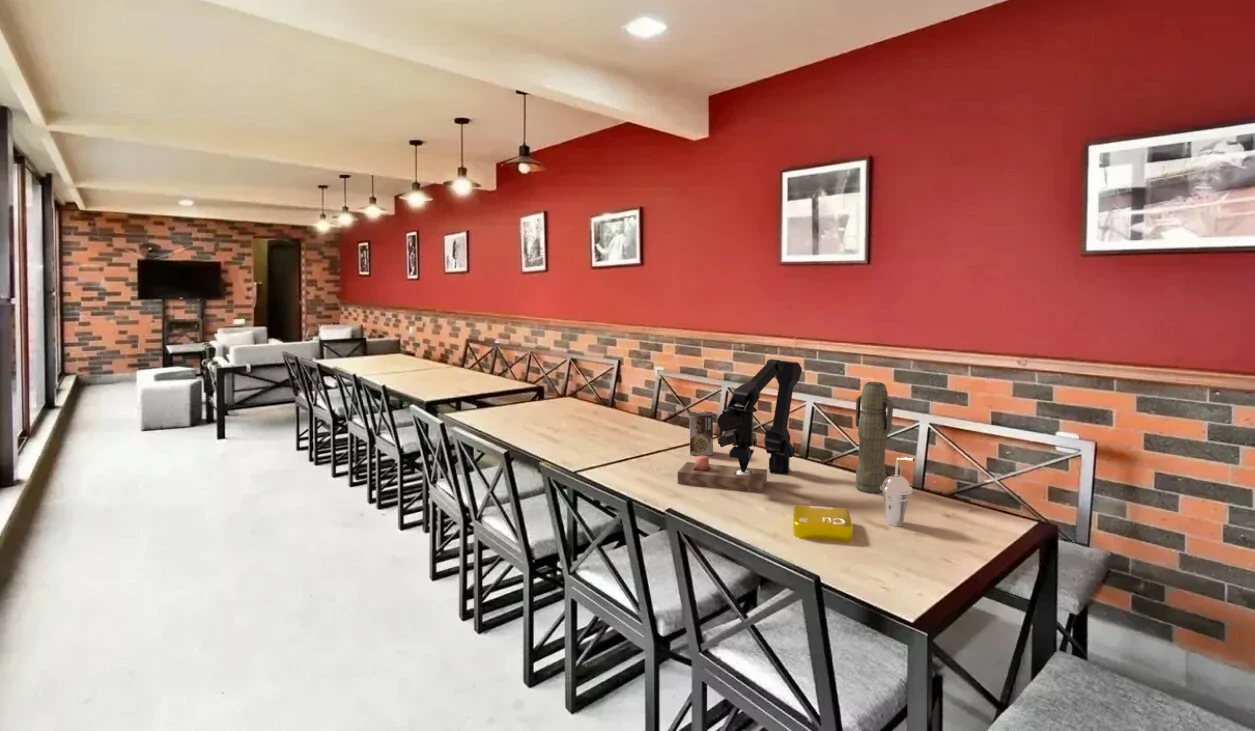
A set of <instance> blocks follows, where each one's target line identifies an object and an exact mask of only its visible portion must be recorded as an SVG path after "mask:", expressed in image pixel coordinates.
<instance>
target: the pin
mask: <svg viewBox="0 0 1255 731" xmlns="http://www.w3.org/2000/svg"><path fill="white" fill-rule="evenodd" d="M736 474H737V475H747V476H750V471H747V470H746V471H745V472H741V470H738V471H737V473H736Z"/></svg>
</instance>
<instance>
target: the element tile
mask: <svg viewBox="0 0 1255 731" xmlns="http://www.w3.org/2000/svg"><path fill="white" fill-rule="evenodd" d="M792 525H793V528H792V529H793V536H794V537H795V536H796V537H795V538H797V537H799V538H798V539H802V538H807V539H806V540H813V539H816V540H815V541H825V540H829V541H828V542H836V541H840V542H839V543H850V541H851V542H852V541H853V539H854V538H853V533H854V525H853V522H852V519H851V515H850V511H849V510H848V509H847V508H845V507H843V508H842V507H832V506H819V505H818V506H817V505H806V504H805V505H804V504H796V505H794V506H793V509H792ZM817 539H818V540H817ZM830 540H831V541H830Z"/></svg>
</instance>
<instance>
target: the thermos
mask: <svg viewBox="0 0 1255 731" xmlns="http://www.w3.org/2000/svg"><path fill="white" fill-rule="evenodd" d="M888 393H889V392H888V390H887V386H886V384H884V383H883V382H879V381H869V382H868V381H867V382H866V383H865V384H864V386H863V388H862V391H861V395H858V396H857V398H856V399H855V401H856V402H855V403H856V405H855V426H856V427H857V436H858V439H859V441H858V442H859V445H858V446H859V447H858V464H857V466H856V470H855V471H856V472H855V474H856V475H855V481H856V485H855V489H856V488H857V489H856V490H857V491H859V492H862V493H865V494H870V495H872V494H873V495H879V494H880V495H881V494H883V491H882V490H881V489H880V485H881V484H882V483H883V482H884V480H885V479H886V478H887V477H886V476H887V469H886V467H885V465H886V464H885V461H886V443H887V442H886V440H887V439H888V436H889V435H888V433H890V431H892V427H893V426H892V425H893V424H892V422H893V414H894V404H893V402H892V400H891V399H888Z"/></svg>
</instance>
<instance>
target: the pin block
mask: <svg viewBox="0 0 1255 731" xmlns="http://www.w3.org/2000/svg"><path fill="white" fill-rule="evenodd" d="M738 470H741V468H740V466H736V465H735V466H733V465H722V464H711V463H709V470H708V471H697V470H696V462H692V461H691V462H690V461H686V462H685V463H684V464H683V465H682V466H681V468H680V469H678V471H677V484H678V485H679V484H681V485H690V486H692V485H693V486H697V487H698V486H700V487H709V488H710V487H711V488H716V489H717V488H718V489H728V490H737V491H746V492H753V493H754V492H755V493H756V492H758V493H762V492H763V490H764V487H765V486H766V483H767V481H768V469H765V468H764V469H763V468H756V467H755V468H753V467H747V468H746V470H747V471H750V476H747V475H737V474H736V473H737V471H738Z"/></svg>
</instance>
